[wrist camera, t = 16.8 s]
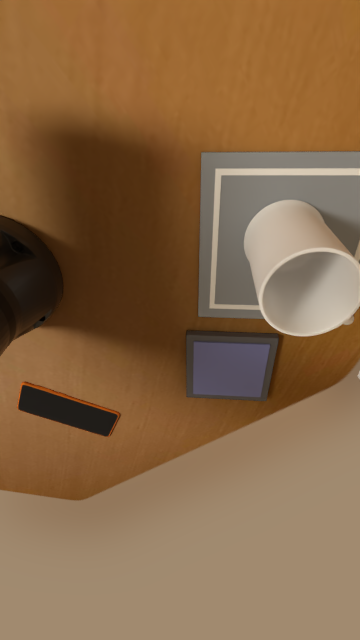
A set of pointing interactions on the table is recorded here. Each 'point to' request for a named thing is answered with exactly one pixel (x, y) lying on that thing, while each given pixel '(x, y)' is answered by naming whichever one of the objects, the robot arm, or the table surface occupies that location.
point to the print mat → (250, 198)
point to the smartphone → (66, 409)
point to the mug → (301, 270)
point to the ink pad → (229, 364)
